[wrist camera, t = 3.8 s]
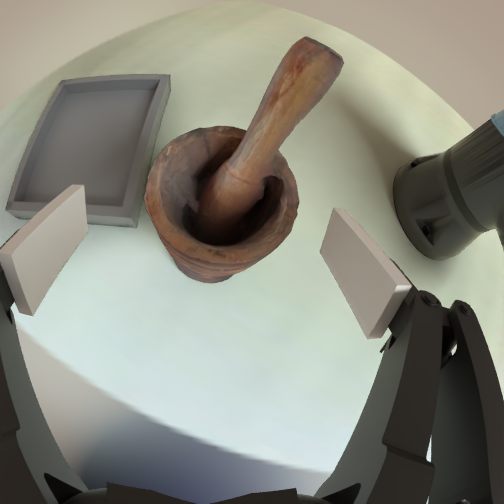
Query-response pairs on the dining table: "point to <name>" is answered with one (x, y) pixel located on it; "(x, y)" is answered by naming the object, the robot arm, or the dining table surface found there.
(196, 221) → the mortar and pestle
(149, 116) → the tray
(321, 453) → the dining table surface
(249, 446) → the dining table surface
